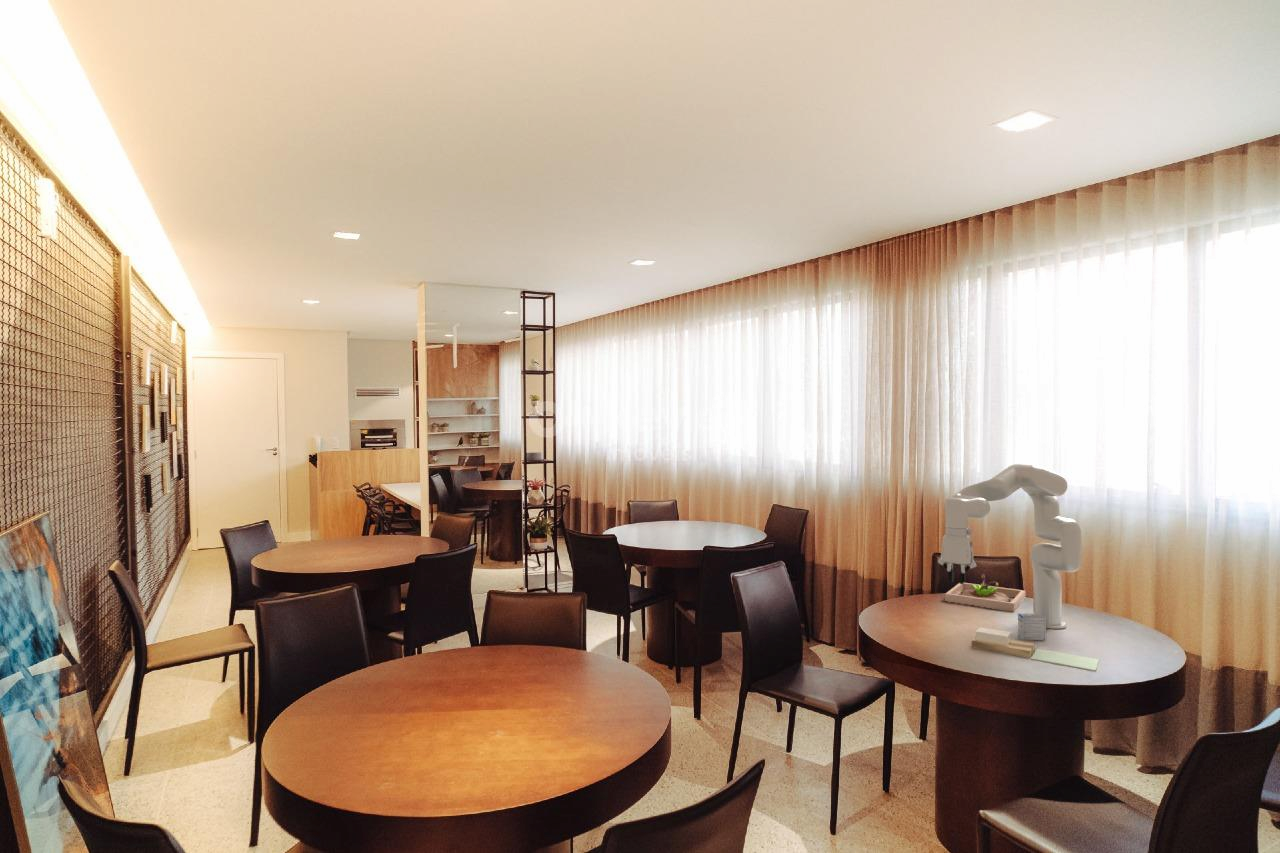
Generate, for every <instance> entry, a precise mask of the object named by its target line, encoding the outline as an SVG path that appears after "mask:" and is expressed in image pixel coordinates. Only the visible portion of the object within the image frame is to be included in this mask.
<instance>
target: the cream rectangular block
mask: <svg viewBox="0 0 1280 853" xmlns="http://www.w3.org/2000/svg"><path fill="white" fill-rule="evenodd" d="M975 637H976V640H980V641H986V642H991V643H997V644H1002V645H1008V644H1009V643H1010V642H1011V639H1012V632H1011V631H1004V630H998V629H993V628H987V627H981V626H980V627H979V628H977V630H976V631H975Z"/></svg>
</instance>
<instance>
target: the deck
mask: <svg viewBox="0 0 1280 853" xmlns="http://www.w3.org/2000/svg"><path fill="white" fill-rule="evenodd" d="M972 648H973V649H978V650H983V651H988V652H994V653H999V654H1004V655H1008V656H1009V655H1010V656H1016V657H1021V658H1027V659H1031V658H1032V656H1033V654H1034V653H1035V651H1036V643H1034V642H1028V641H1025V640H1023V641H1021V640H1017V639H1012V638H1011V642H1010V643H1009V644H1008V645H1002V644H997V643H991V642H986V641H980V640H976V636H975V637H973V639H972V640H971V649H972Z"/></svg>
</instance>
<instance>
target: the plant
mask: <svg viewBox="0 0 1280 853" xmlns="http://www.w3.org/2000/svg"><path fill="white" fill-rule="evenodd" d="M980 577H981V578H982V583H980V584H978V585H979V587H977V586H975V585H973V586H974V587H975V589H976V590H964V591H962V592H961V593H960V595H963V596H970V597H977V598H984V599H991V600H998V601H1005V602H1011V597H1008V596H1007V595H1006V594H1004V593H1001V592H999V591H998V590H996V589H997V588H993V589H991V586H992V585H991V584H994V585H995V587H999V583H998V582H997V581H990V582H988V583H986V578H985V577H986V576H985V574H983V573H982V574H981V576H980ZM990 589H991V590H990ZM994 590H996V591H994ZM997 591H998V592H997Z"/></svg>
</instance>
